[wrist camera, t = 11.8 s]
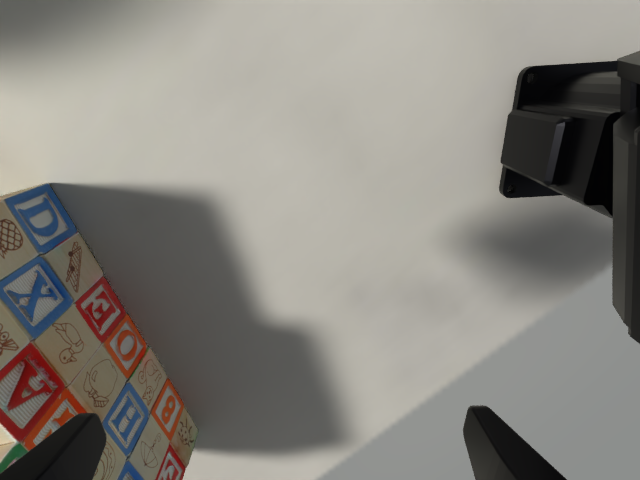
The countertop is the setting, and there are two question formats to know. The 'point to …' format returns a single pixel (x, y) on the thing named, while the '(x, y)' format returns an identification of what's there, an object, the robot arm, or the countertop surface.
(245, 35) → the countertop surface
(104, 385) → the stack of blocks
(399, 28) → the countertop surface
